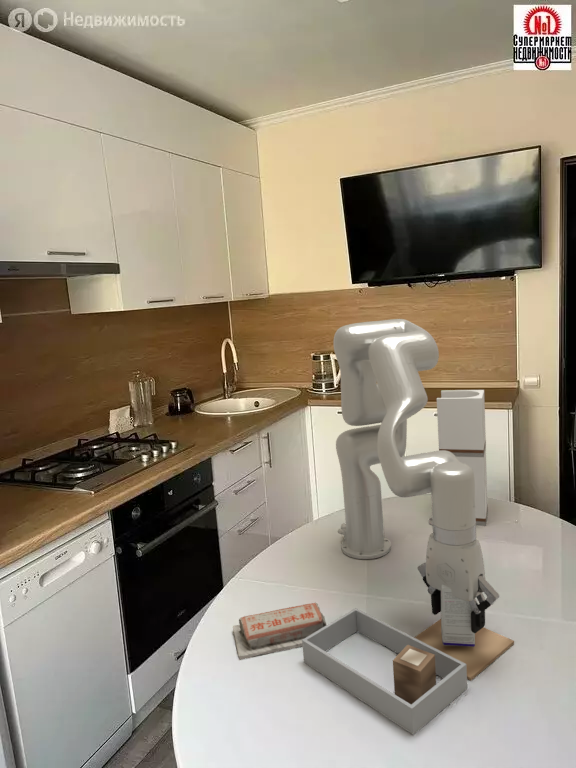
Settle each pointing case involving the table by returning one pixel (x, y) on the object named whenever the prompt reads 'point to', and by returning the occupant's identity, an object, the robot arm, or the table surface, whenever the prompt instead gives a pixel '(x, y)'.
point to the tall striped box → (466, 437)
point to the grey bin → (373, 693)
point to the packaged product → (277, 630)
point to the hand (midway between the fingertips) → (457, 619)
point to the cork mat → (469, 648)
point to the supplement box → (455, 620)
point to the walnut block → (413, 673)
